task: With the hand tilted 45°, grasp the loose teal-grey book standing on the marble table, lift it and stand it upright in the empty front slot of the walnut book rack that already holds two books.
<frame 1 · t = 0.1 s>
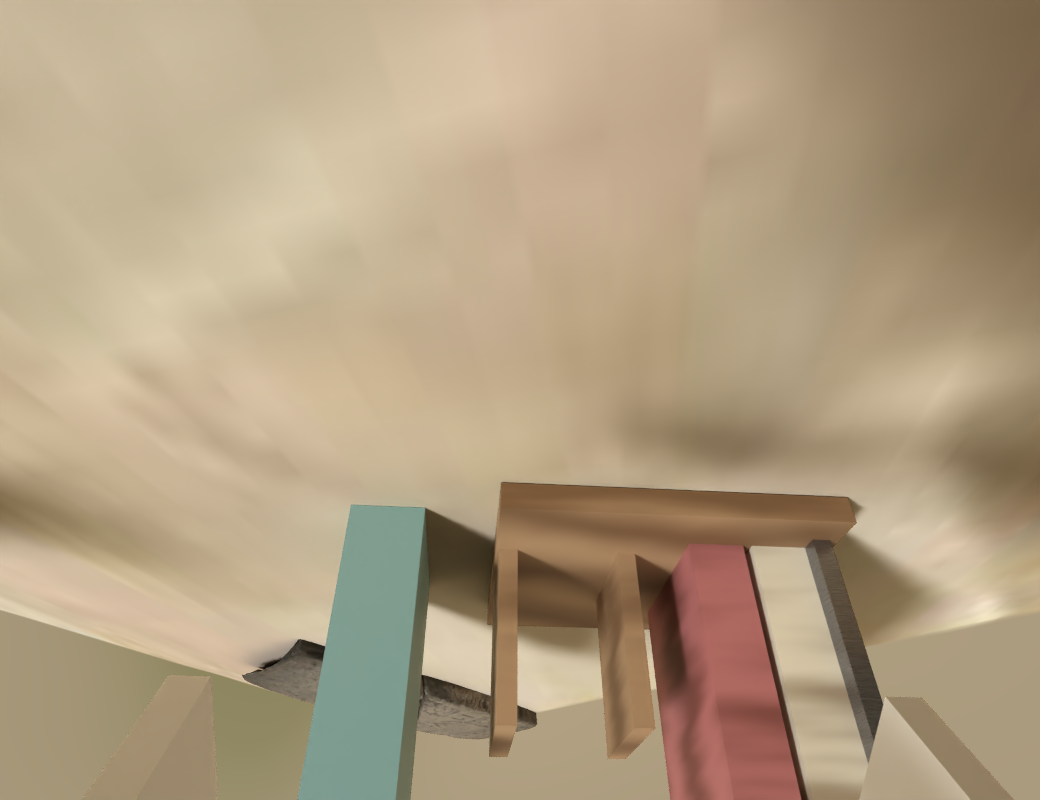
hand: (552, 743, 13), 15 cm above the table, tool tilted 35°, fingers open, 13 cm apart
stone slab: (404, 683, 64), on the table
book: (394, 547, 40), on the table
book rack: (655, 558, 41), on the table
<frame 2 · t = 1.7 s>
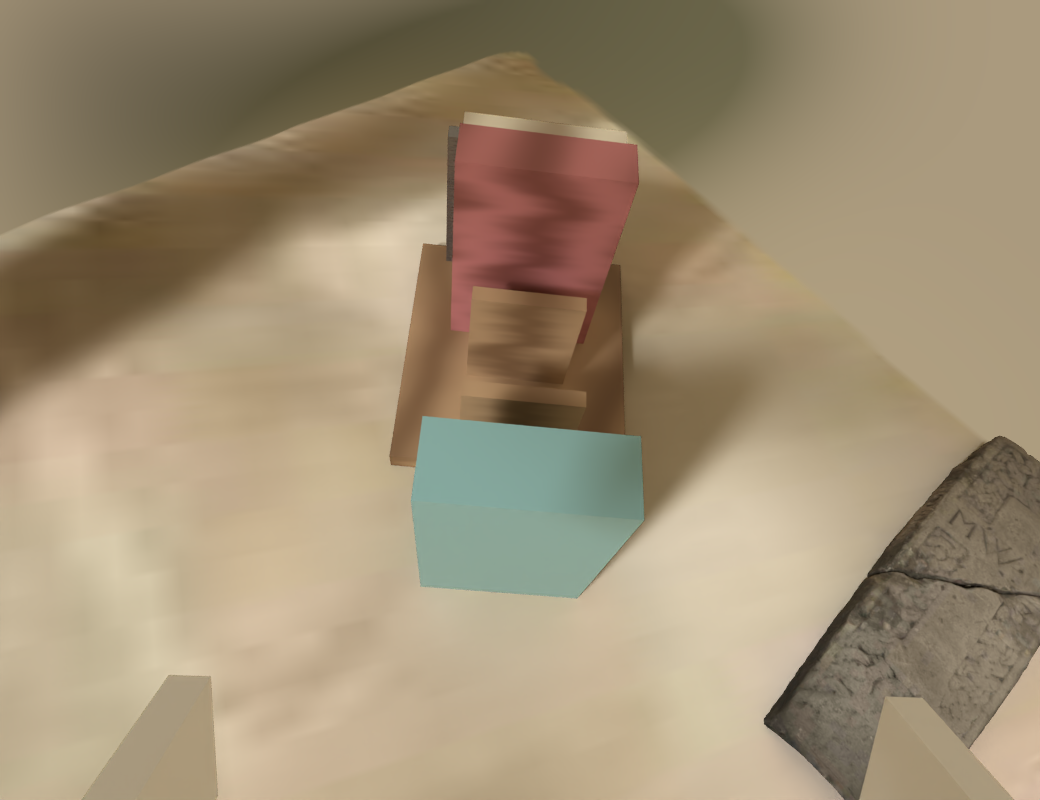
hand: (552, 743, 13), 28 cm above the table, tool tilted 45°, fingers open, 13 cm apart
stone slab: (936, 613, 45), on the table
book: (501, 561, 43), on the table
book rack: (515, 353, 51), on the table
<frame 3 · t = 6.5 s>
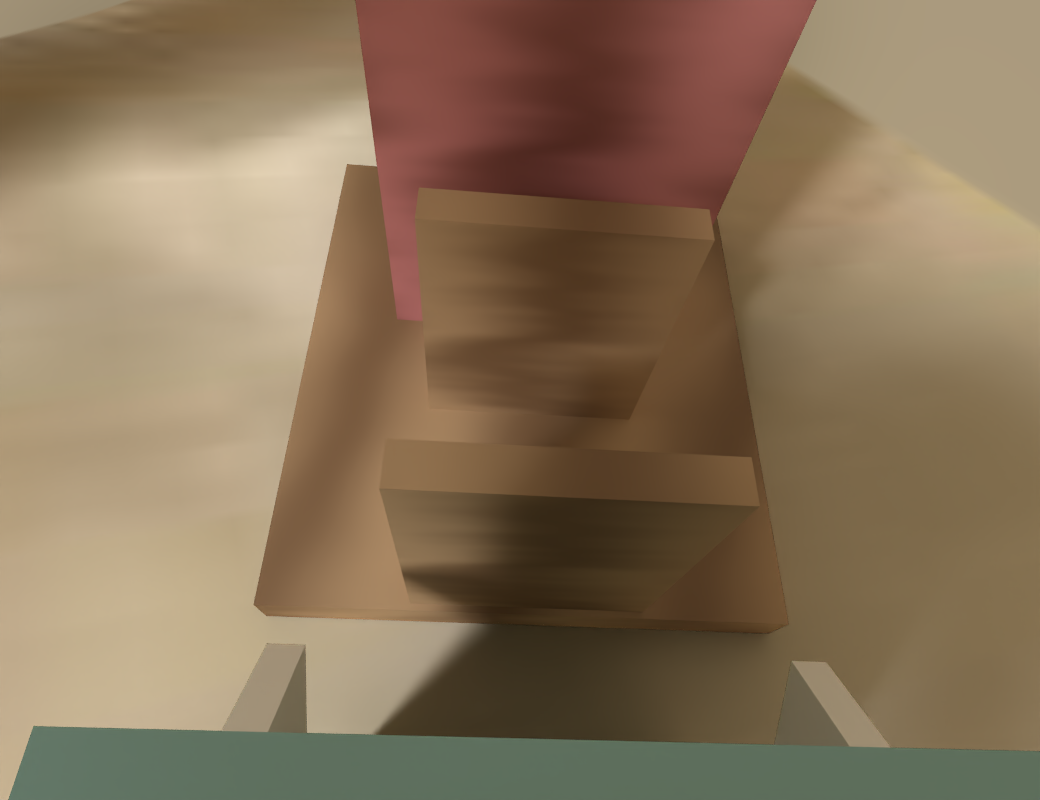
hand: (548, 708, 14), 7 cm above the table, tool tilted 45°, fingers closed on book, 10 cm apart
book rack: (527, 360, 26), on the table
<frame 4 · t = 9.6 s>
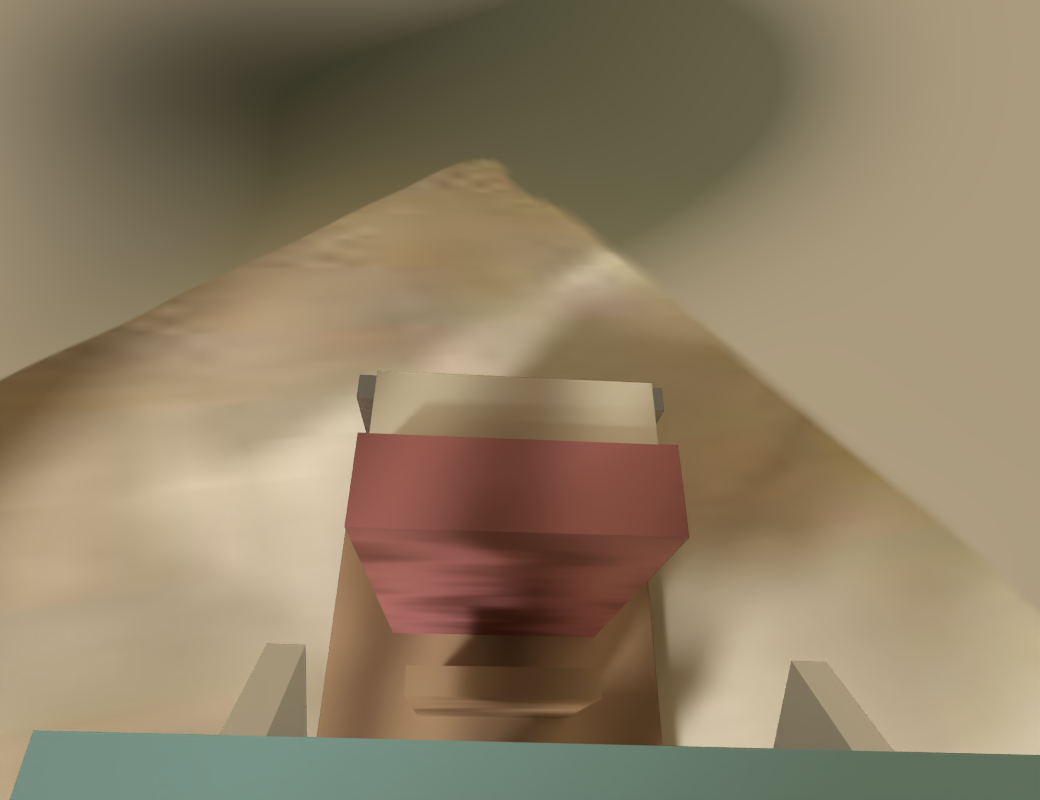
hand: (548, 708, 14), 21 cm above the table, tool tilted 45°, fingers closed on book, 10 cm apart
book rack: (493, 650, 34), on the table
when the fingers open (10 cm above the table, at t = 13.0 s): book drops 1 cm, resting on book rack.
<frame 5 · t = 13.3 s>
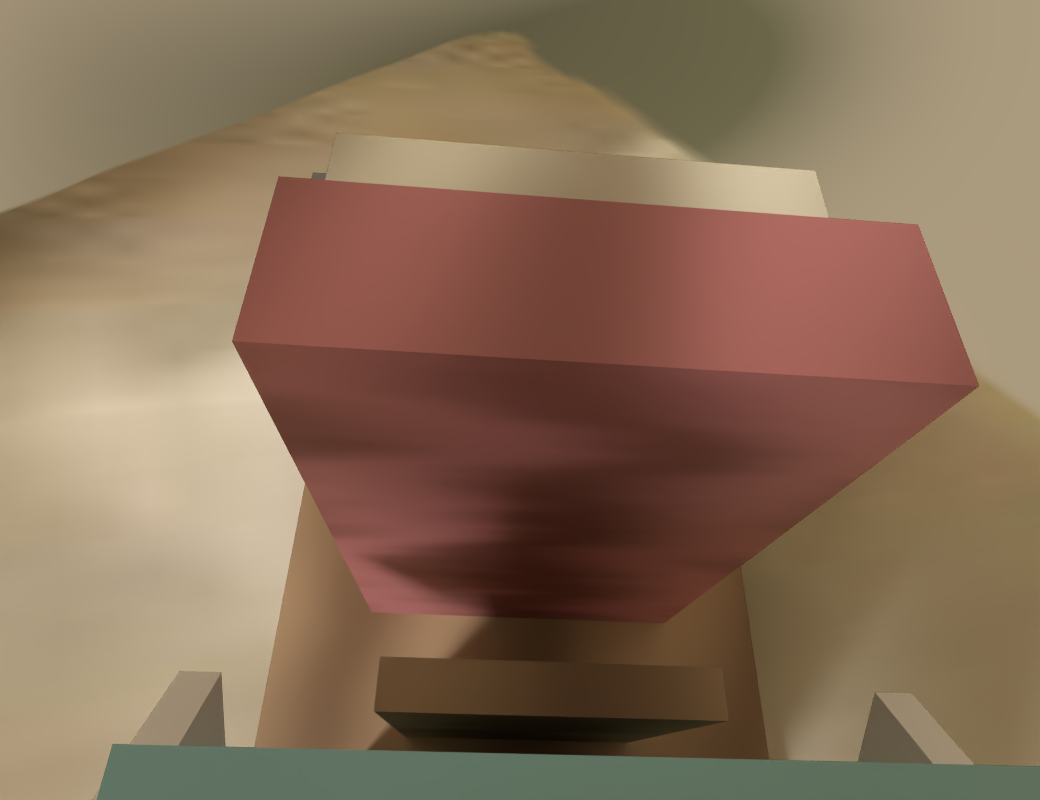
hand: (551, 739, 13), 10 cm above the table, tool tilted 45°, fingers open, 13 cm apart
book rack: (516, 641, 24), on the table
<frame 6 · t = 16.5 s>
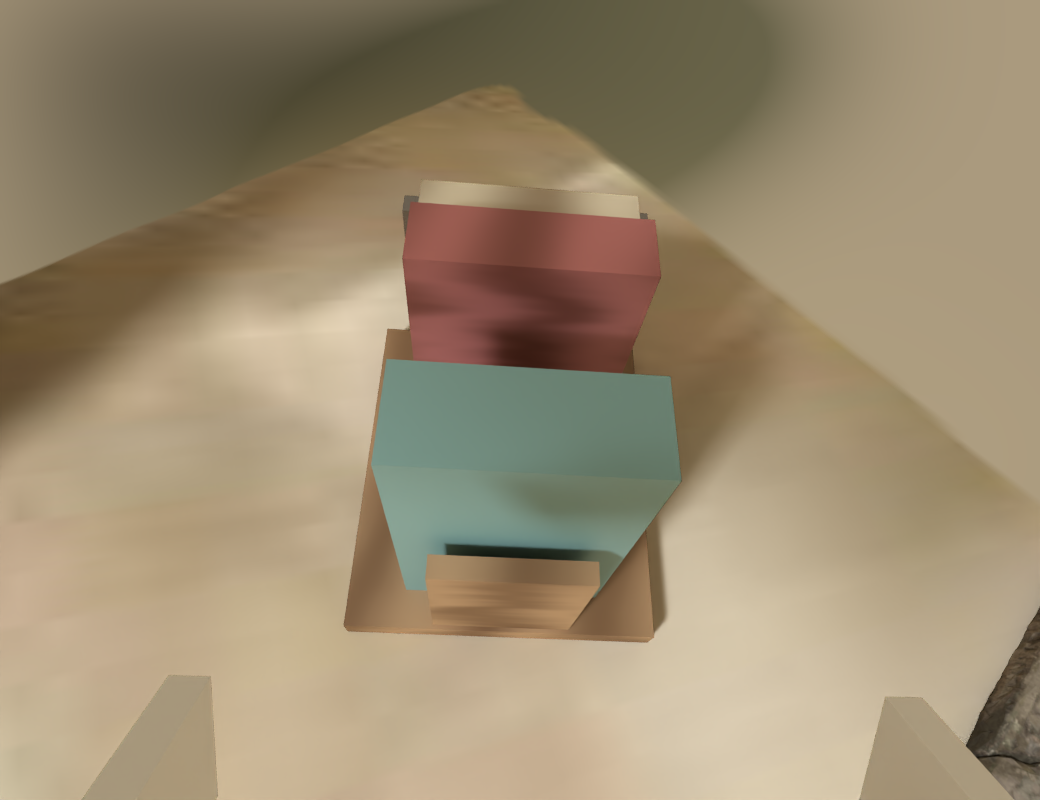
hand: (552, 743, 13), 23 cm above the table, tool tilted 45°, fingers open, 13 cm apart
book: (502, 556, 36), point 1 cm above the table, touching book rack
book rack: (505, 465, 41), on the table
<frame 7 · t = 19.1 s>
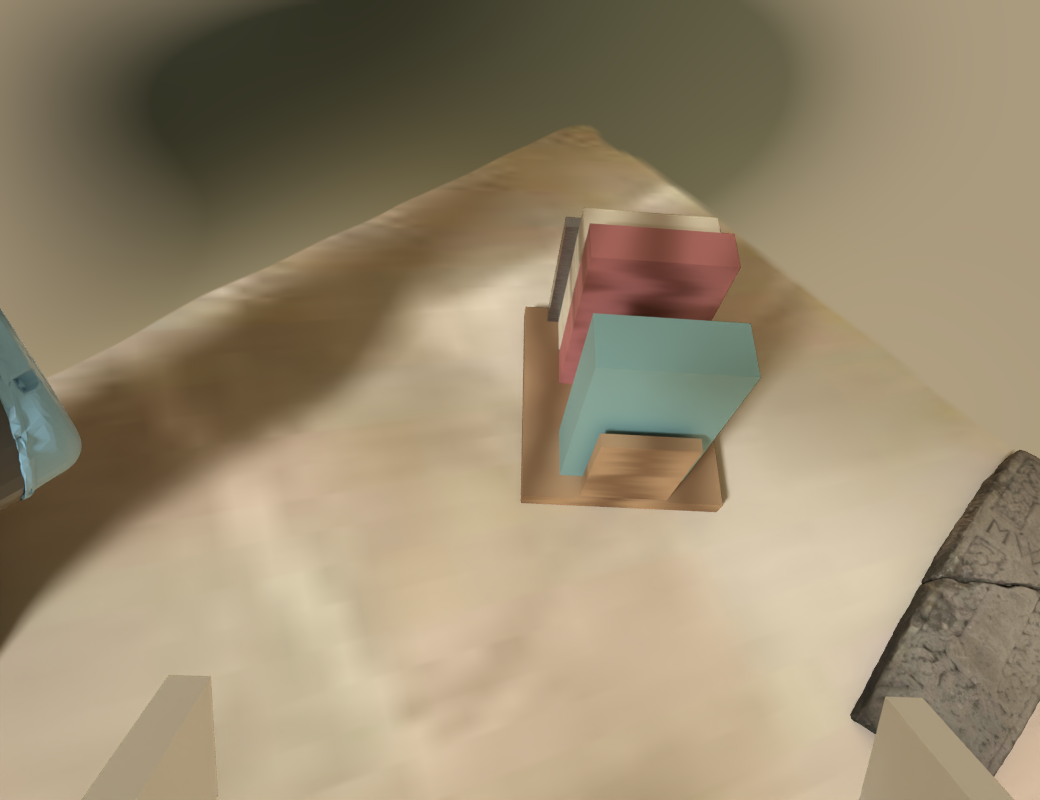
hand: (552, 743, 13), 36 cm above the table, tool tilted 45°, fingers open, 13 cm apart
stone slab: (983, 611, 53), on the table
book: (620, 455, 54), point 1 cm above the table, touching book rack
book rack: (613, 400, 59), on the table
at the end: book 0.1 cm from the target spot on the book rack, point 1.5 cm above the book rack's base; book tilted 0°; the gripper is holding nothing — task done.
